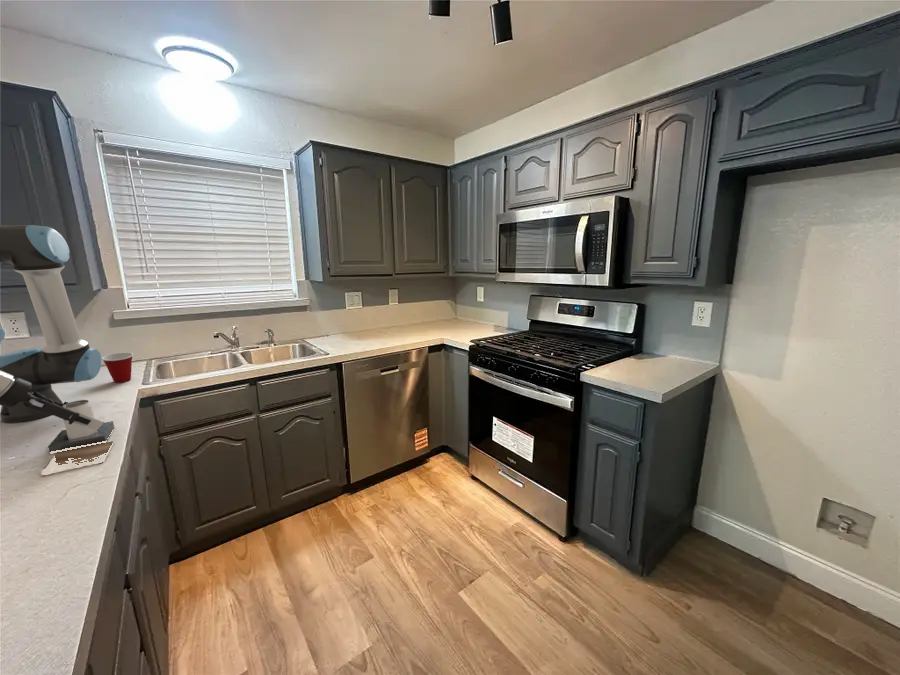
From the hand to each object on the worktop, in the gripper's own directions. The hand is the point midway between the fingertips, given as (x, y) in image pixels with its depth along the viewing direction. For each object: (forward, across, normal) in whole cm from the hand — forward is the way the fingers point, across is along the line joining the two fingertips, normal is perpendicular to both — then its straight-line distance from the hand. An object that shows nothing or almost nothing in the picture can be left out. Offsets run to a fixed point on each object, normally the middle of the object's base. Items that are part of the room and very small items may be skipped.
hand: (94, 422), depth 116 cm
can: (+1, 0, -6) cm, 6 cm away
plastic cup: (+21, -61, +14) cm, 66 cm away
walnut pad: (-2, +14, -8) cm, 16 cm away
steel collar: (+1, 0, -6) cm, 6 cm away
